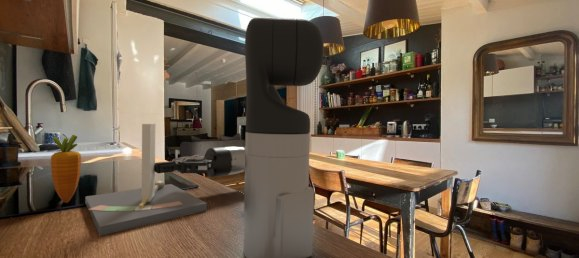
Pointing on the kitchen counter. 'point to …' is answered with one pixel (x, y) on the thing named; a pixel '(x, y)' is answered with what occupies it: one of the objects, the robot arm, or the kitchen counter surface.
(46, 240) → the kitchen counter surface
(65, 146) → the carrot
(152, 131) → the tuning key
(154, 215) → the gauge dial plate
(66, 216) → the kitchen counter surface
